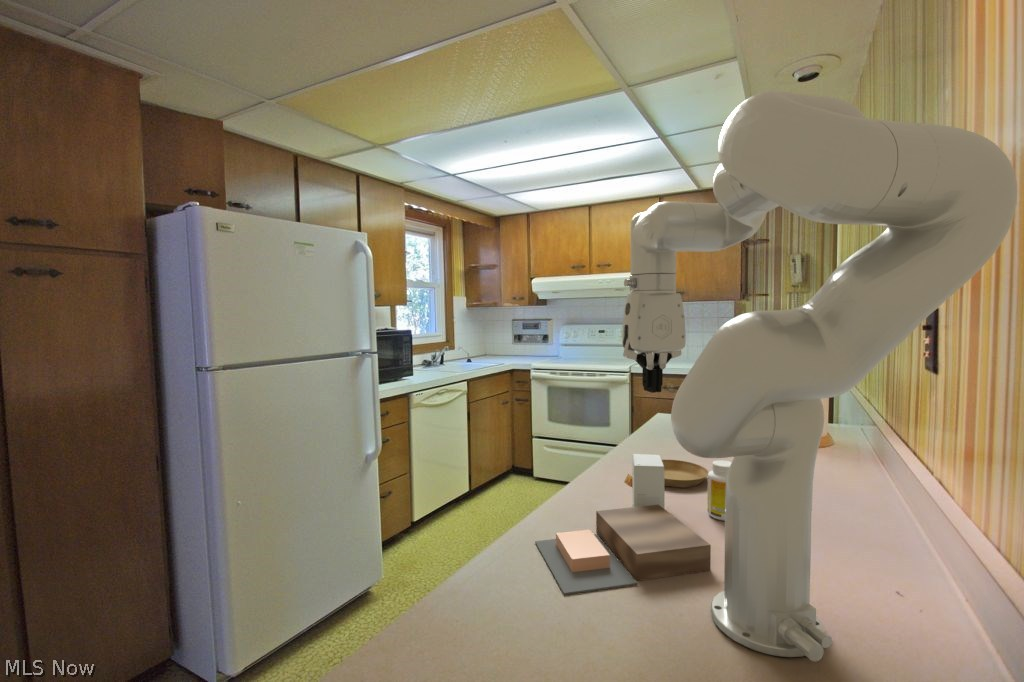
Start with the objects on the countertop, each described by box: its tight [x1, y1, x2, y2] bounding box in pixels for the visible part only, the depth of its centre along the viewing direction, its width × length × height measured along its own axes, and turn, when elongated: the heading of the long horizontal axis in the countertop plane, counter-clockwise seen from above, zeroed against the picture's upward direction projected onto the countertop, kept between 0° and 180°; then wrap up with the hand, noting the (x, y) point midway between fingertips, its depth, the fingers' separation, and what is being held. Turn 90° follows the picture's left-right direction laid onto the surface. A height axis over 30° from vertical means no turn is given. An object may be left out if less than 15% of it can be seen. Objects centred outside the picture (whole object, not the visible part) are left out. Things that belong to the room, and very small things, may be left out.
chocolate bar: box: [623, 473, 633, 489], centre depth 109 cm, size 3×12×2 cm, turn 13°
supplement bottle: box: [707, 459, 732, 522], centre depth 94 cm, size 6×6×10 cm
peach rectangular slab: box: [555, 529, 610, 572], centre depth 80 cm, size 9×6×2 cm, turn 11°
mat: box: [535, 533, 638, 596], centre depth 78 cm, size 16×11×1 cm
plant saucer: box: [662, 459, 710, 488], centre depth 116 cm, size 15×15×3 cm
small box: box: [631, 453, 666, 510], centre depth 97 cm, size 8×6×10 cm
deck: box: [595, 505, 712, 582], centre depth 82 cm, size 16×12×4 cm
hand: (652, 391), depth 87 cm, fingers closed
